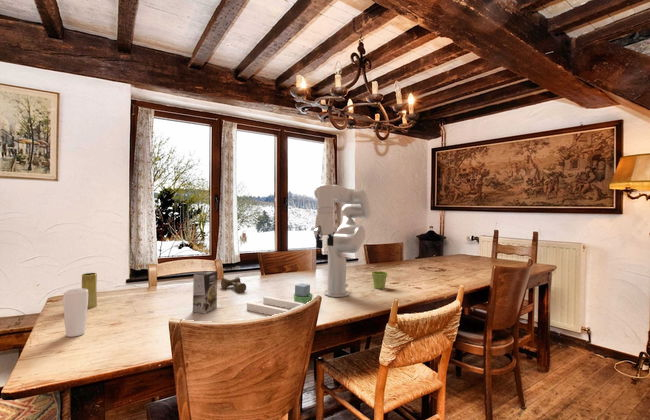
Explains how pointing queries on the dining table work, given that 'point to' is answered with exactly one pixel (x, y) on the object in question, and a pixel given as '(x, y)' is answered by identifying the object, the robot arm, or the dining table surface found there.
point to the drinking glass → (75, 311)
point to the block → (302, 289)
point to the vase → (90, 288)
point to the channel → (271, 309)
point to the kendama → (233, 284)
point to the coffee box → (205, 291)
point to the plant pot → (379, 279)
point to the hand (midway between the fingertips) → (324, 246)
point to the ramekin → (303, 298)
